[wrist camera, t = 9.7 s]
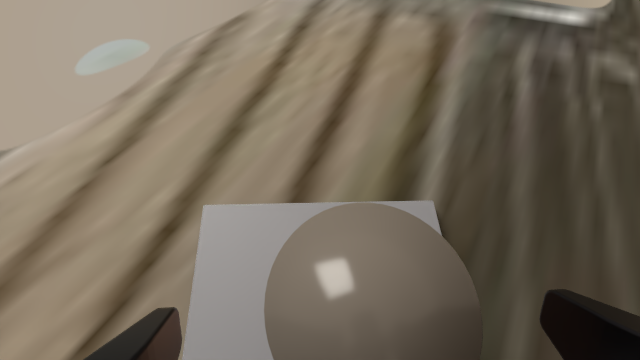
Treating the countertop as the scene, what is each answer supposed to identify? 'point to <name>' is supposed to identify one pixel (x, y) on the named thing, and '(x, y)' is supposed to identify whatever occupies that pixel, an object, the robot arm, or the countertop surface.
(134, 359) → the robot arm
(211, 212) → the gray board
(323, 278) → the terracotta jar
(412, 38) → the countertop surface
